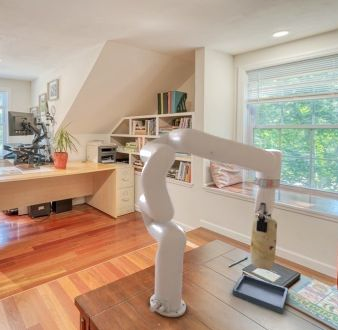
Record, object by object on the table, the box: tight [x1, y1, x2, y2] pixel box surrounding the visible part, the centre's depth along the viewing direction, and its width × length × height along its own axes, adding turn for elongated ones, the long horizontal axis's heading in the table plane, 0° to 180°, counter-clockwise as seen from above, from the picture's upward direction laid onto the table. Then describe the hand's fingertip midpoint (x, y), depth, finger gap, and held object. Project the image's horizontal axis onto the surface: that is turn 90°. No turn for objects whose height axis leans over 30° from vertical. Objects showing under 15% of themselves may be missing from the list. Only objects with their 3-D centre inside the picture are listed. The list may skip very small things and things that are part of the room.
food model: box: [250, 214, 278, 271], centre depth 97 cm, size 10×7×20 cm
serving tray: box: [232, 273, 289, 315], centre depth 100 cm, size 16×16×2 cm
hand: (263, 228), depth 97 cm, fingers closed on food model, 7 cm apart
